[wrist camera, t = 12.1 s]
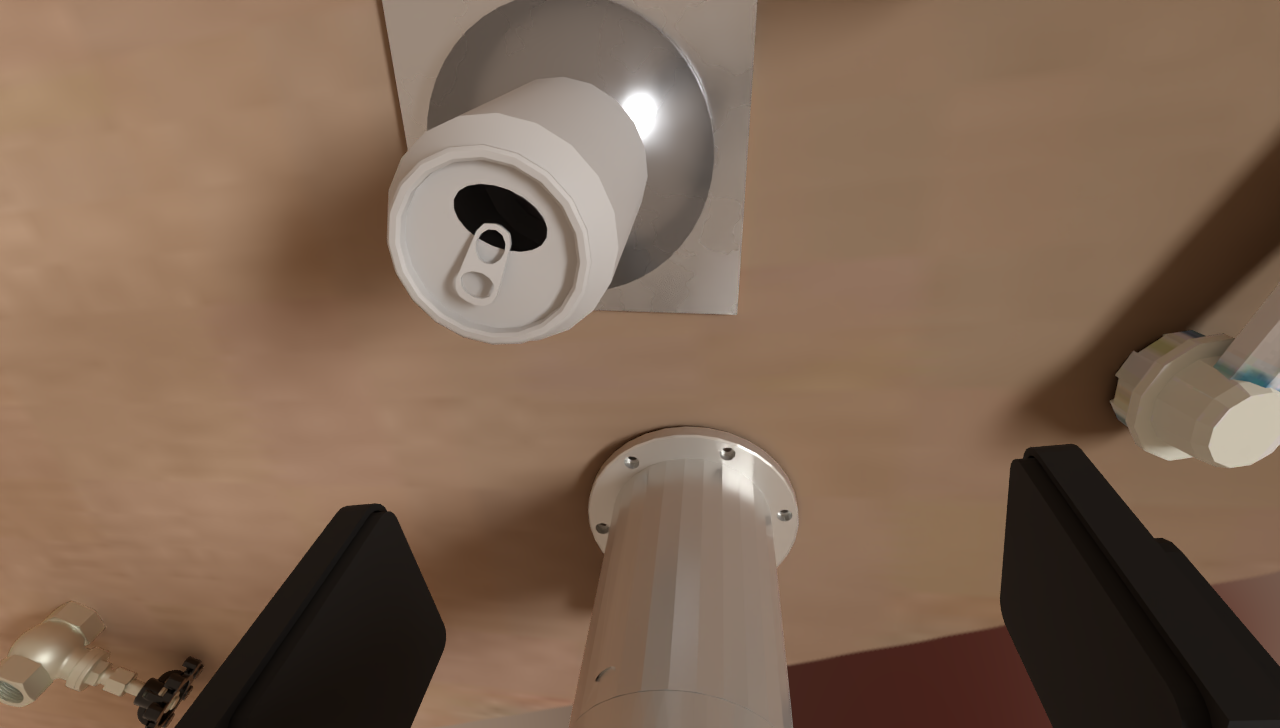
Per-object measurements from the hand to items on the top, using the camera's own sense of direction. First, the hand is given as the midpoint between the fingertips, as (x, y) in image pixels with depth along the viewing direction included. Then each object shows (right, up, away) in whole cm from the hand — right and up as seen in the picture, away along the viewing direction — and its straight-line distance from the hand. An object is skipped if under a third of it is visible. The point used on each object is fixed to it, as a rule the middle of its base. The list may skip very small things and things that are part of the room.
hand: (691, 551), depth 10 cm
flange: (-4, +13, +21) cm, 25 cm away
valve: (-41, -19, +44) cm, 63 cm away
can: (-4, +12, +20) cm, 24 cm away
